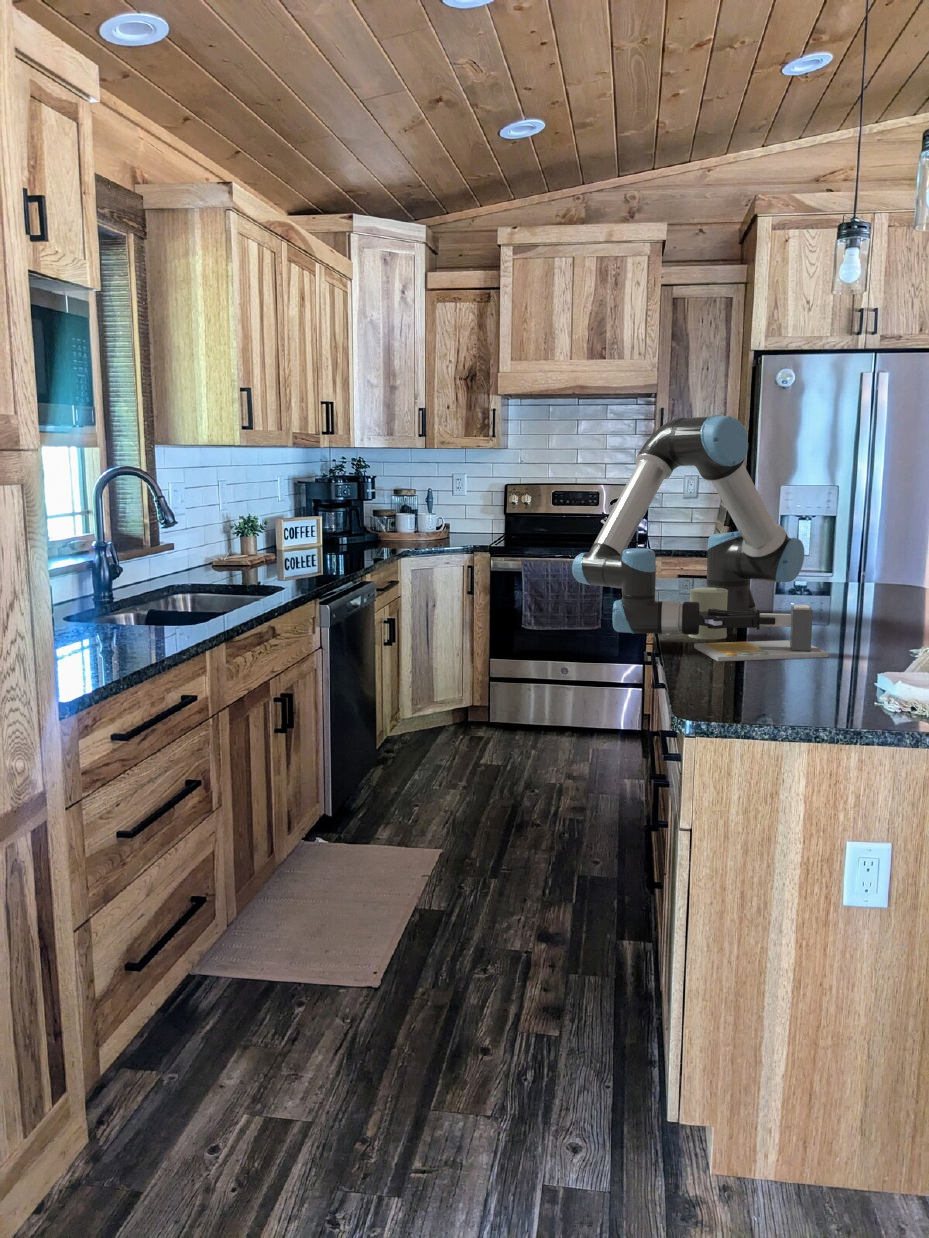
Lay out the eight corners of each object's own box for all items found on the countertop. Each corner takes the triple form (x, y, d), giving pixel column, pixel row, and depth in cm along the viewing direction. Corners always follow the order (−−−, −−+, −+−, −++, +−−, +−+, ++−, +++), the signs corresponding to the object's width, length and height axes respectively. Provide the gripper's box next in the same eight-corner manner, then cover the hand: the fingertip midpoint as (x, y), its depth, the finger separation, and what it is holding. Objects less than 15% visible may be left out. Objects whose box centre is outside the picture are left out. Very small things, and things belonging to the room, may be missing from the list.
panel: (798, 643, 221) (798, 638, 221) (828, 656, 206) (829, 650, 206) (694, 648, 219) (694, 642, 219) (717, 661, 204) (717, 655, 204)
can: (728, 640, 227) (729, 590, 225) (689, 639, 229) (690, 590, 227) (725, 633, 236) (727, 585, 234) (687, 632, 238) (688, 585, 236)
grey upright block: (808, 646, 212) (810, 604, 210) (810, 650, 207) (812, 608, 206) (789, 645, 213) (791, 604, 211) (791, 650, 208) (793, 607, 207)
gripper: (682, 629, 222) (787, 631, 216) (680, 639, 210) (792, 642, 204) (682, 597, 221) (789, 599, 215) (680, 606, 209) (793, 608, 203)
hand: (790, 620), depth 210 cm, fingers closed
